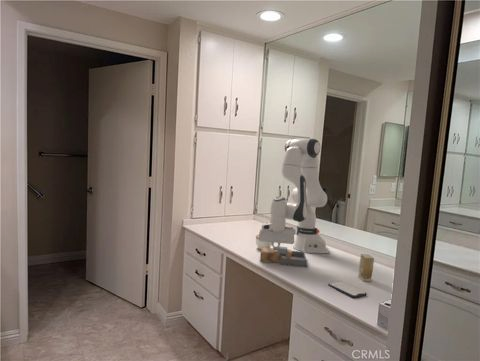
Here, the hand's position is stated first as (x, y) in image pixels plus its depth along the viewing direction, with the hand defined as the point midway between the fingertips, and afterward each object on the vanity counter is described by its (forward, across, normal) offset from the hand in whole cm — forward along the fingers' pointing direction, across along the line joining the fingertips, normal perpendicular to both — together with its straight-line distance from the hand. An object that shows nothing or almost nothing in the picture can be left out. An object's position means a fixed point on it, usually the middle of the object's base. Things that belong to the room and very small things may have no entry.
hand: (275, 250), depth 193 cm
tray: (+5, -10, 0) cm, 11 cm away
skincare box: (+6, -45, +18) cm, 49 cm away
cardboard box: (+5, +3, 0) cm, 6 cm away
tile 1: (+2, -6, 0) cm, 7 cm away
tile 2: (+1, -4, 0) cm, 4 cm away
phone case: (+6, -33, +35) cm, 49 cm away
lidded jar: (+6, +7, -19) cm, 21 cm away
